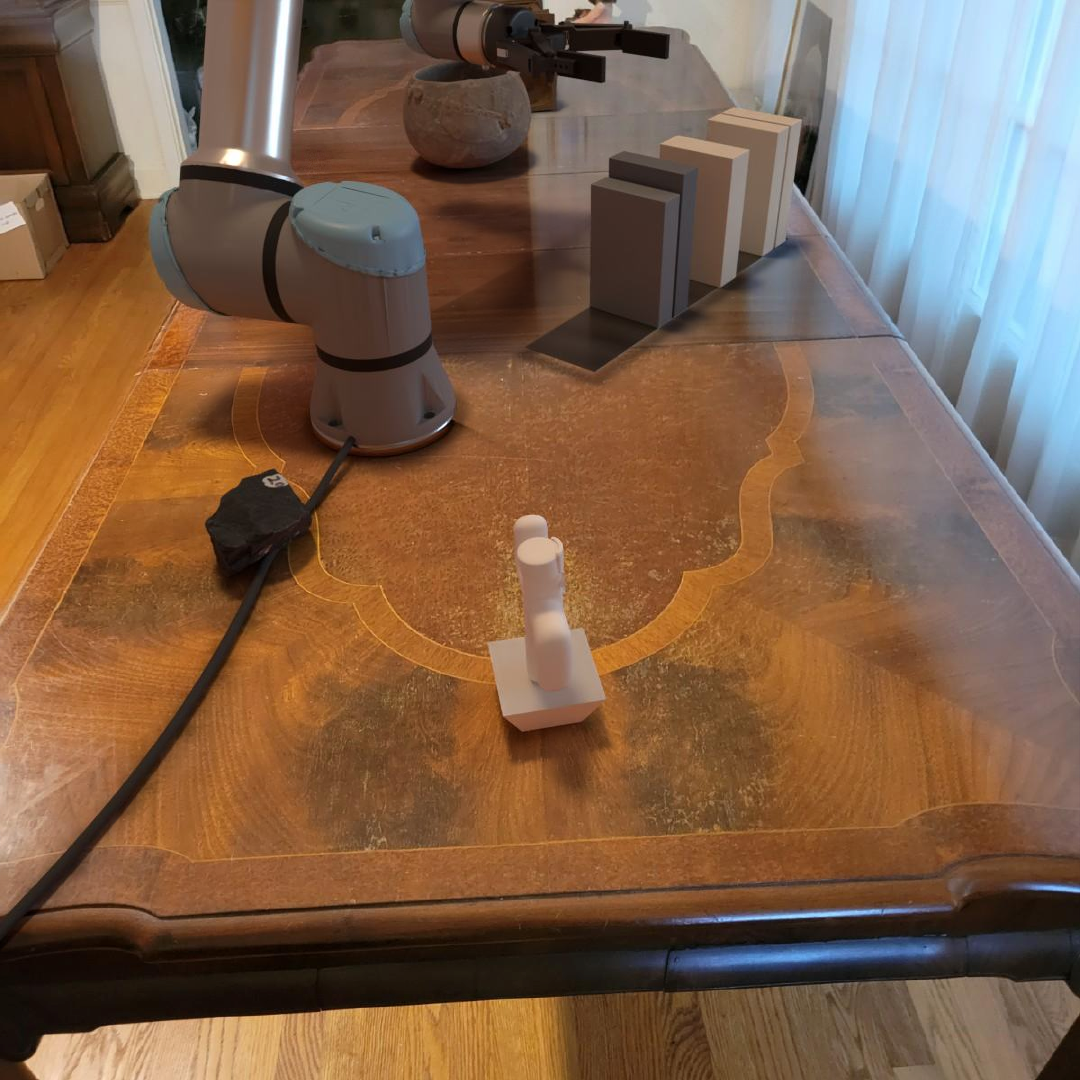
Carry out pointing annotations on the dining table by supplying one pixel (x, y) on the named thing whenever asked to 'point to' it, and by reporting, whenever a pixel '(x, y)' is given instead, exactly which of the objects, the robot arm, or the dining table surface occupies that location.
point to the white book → (713, 205)
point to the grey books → (642, 238)
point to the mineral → (256, 521)
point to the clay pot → (465, 114)
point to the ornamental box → (537, 88)
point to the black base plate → (611, 329)
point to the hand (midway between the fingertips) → (637, 58)
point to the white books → (762, 172)
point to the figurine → (544, 642)
